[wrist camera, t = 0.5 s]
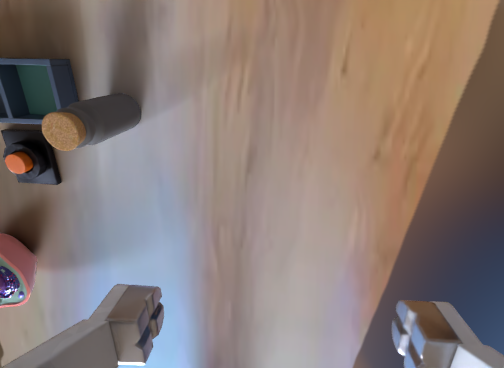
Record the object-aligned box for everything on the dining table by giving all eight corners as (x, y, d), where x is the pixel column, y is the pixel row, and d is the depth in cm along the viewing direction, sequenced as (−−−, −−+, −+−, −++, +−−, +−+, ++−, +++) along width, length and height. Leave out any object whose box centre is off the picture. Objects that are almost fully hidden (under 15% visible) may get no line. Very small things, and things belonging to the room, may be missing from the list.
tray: (-36, 57, 47) (-65, 56, 43) (69, 59, 45) (49, 59, 41) (-15, 116, 50) (-40, 120, 47) (83, 120, 49) (65, 125, 45)
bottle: (128, 135, 49) (68, 164, 35) (101, 110, 48) (28, 131, 34) (148, 111, 47) (92, 133, 33) (120, 85, 46) (50, 96, 32)
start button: (11, 150, 50) (2, 153, 48) (30, 151, 50) (21, 154, 48) (17, 169, 51) (9, 173, 50) (35, 171, 51) (27, 174, 49)
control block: (6, 129, 51) (-10, 132, 48) (47, 130, 50) (34, 135, 48) (23, 179, 55) (10, 186, 52) (62, 182, 54) (50, 188, 52)
